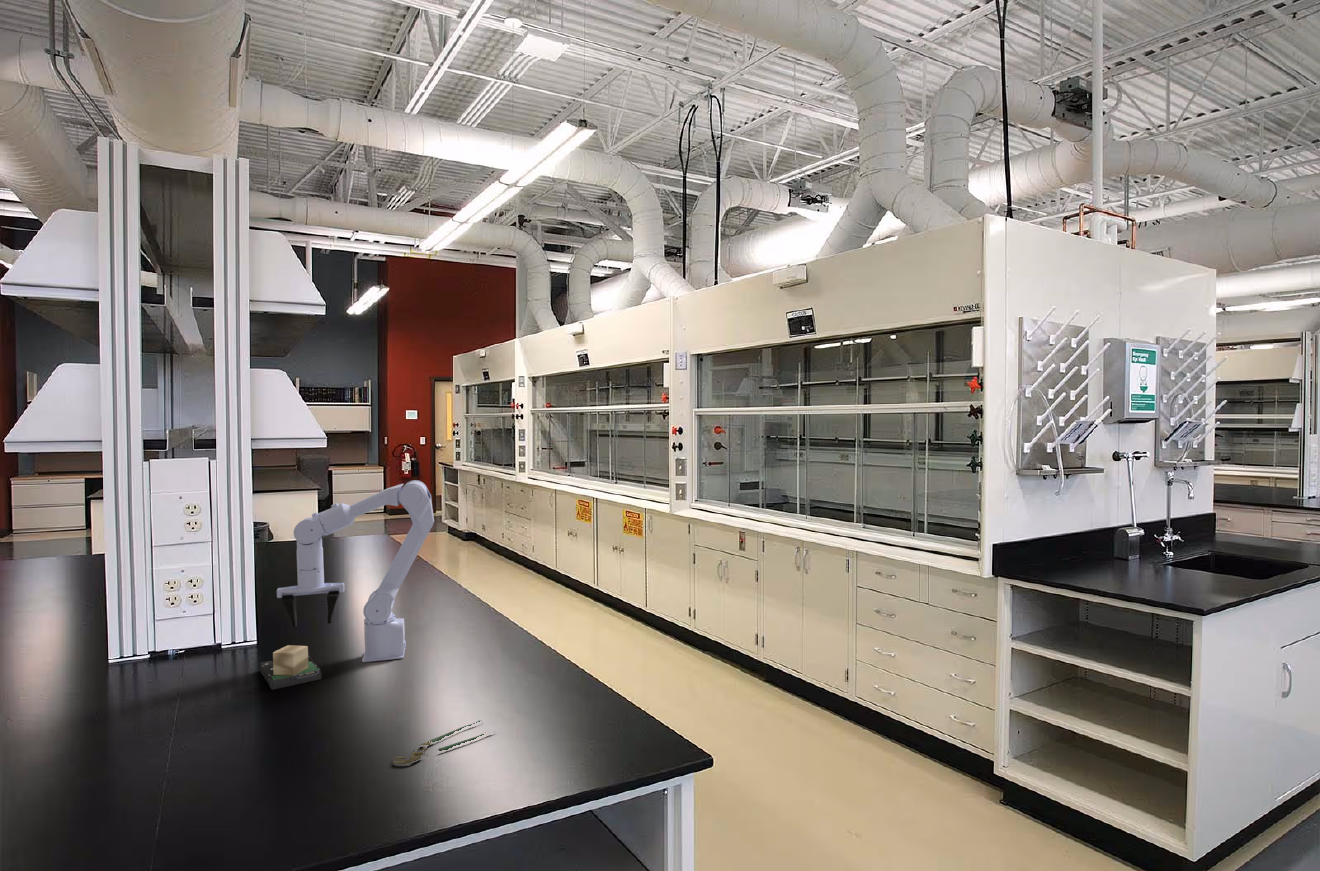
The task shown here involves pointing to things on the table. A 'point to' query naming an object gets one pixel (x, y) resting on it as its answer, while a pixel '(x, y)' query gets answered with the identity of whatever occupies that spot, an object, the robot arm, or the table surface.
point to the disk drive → (285, 680)
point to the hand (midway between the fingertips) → (312, 624)
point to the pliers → (418, 755)
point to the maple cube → (290, 660)
